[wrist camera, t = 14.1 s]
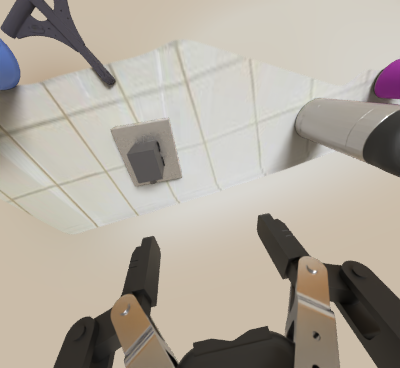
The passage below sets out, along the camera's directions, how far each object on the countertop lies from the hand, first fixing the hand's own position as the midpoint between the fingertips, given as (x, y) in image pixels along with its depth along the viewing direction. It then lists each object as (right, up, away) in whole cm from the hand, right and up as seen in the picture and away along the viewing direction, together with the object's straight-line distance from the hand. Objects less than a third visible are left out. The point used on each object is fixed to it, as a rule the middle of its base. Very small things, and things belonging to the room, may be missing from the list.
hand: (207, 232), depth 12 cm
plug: (-12, +11, +26) cm, 31 cm away
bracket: (-22, +28, +16) cm, 39 cm away
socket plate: (-12, +12, +27) cm, 32 cm away
